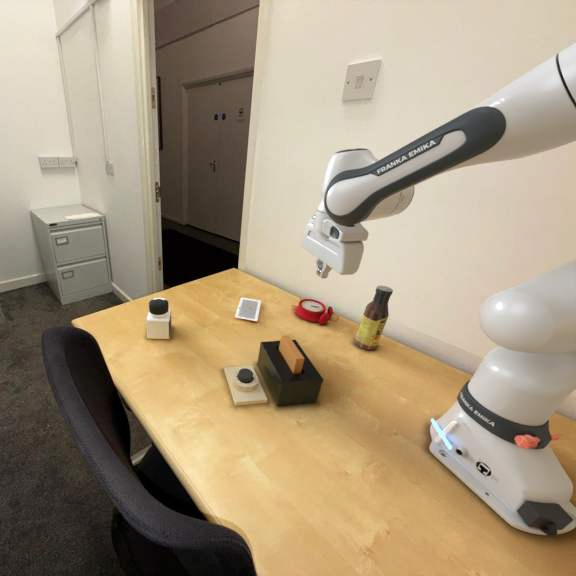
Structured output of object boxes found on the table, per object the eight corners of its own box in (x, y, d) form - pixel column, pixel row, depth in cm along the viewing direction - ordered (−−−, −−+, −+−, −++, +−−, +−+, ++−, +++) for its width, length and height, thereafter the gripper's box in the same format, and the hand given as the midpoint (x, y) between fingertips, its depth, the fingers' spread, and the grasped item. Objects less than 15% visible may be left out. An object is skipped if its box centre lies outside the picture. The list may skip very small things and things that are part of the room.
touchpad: (260, 303, 115) (261, 298, 114) (256, 323, 103) (257, 318, 102) (240, 299, 117) (241, 294, 116) (234, 319, 105) (234, 314, 104)
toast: (296, 389, 74) (304, 358, 69) (289, 390, 74) (296, 359, 69) (282, 364, 82) (288, 335, 77) (275, 365, 82) (281, 335, 77)
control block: (267, 402, 73) (268, 394, 71) (235, 405, 72) (236, 397, 70) (251, 368, 83) (253, 360, 82) (224, 370, 82) (224, 362, 81)
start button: (254, 382, 75) (255, 377, 74) (240, 384, 74) (241, 379, 74) (249, 372, 78) (250, 367, 77) (236, 373, 78) (237, 368, 77)
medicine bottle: (169, 339, 94) (169, 307, 88) (147, 339, 94) (145, 306, 88) (171, 326, 100) (171, 295, 95) (150, 325, 100) (148, 294, 95)
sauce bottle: (374, 353, 90) (396, 296, 81) (351, 345, 93) (370, 289, 84) (377, 343, 94) (399, 288, 85) (356, 335, 98) (374, 281, 89)
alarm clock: (300, 295, 114) (342, 300, 104) (301, 309, 116) (342, 316, 106) (289, 305, 107) (333, 312, 97) (289, 321, 109) (333, 329, 99)
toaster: (316, 403, 73) (323, 379, 69) (277, 407, 72) (282, 382, 68) (290, 361, 86) (295, 339, 82) (257, 364, 85) (260, 341, 81)
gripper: (301, 213, 79) (292, 261, 86) (346, 236, 62) (331, 295, 68) (322, 213, 80) (312, 260, 87) (374, 235, 62) (356, 293, 69)
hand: (321, 276), depth 77 cm, fingers closed
